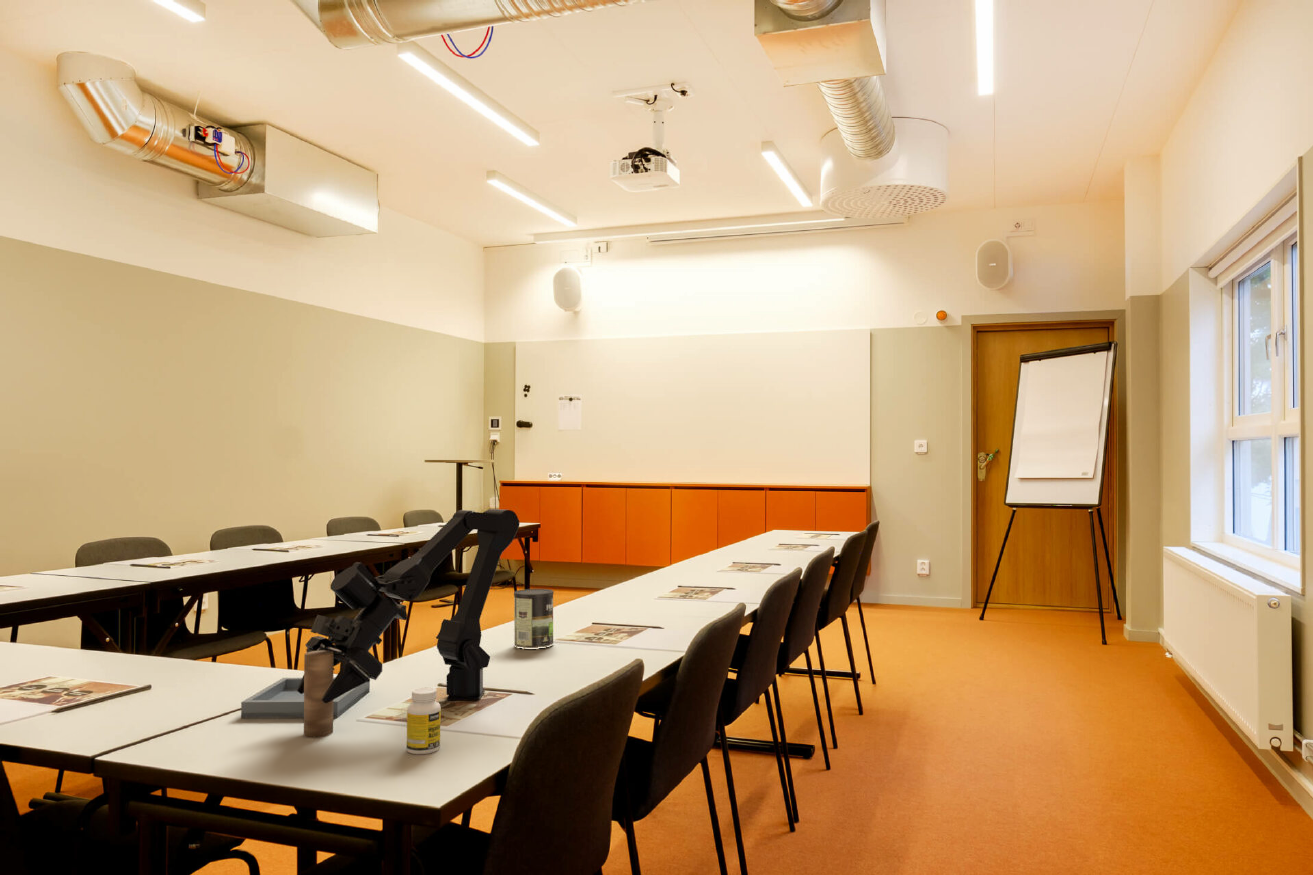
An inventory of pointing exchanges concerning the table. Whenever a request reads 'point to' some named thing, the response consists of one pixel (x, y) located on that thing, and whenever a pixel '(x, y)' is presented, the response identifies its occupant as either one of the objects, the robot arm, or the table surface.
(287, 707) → the bin
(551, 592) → the coffee can
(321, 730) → the canister
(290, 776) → the table surface
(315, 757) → the table surface
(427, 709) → the supplement bottle
